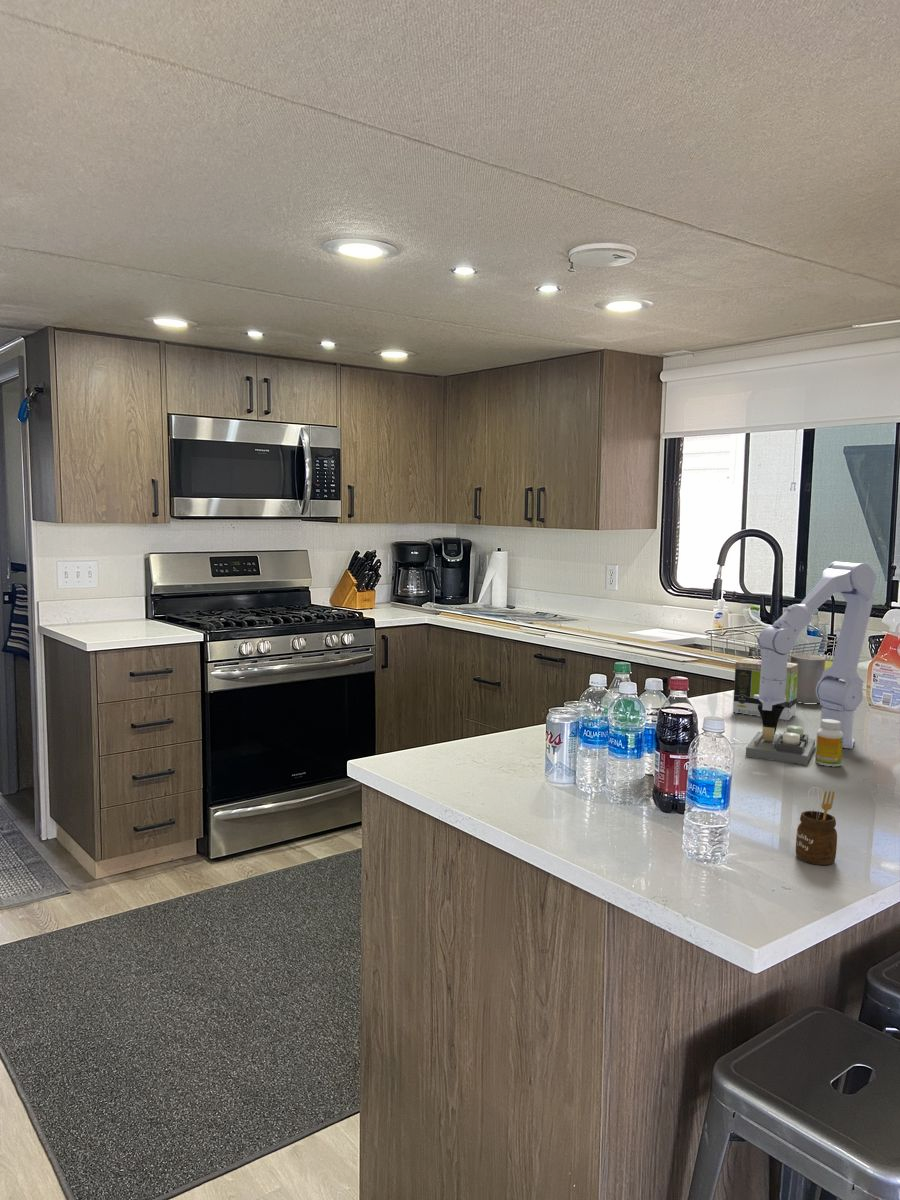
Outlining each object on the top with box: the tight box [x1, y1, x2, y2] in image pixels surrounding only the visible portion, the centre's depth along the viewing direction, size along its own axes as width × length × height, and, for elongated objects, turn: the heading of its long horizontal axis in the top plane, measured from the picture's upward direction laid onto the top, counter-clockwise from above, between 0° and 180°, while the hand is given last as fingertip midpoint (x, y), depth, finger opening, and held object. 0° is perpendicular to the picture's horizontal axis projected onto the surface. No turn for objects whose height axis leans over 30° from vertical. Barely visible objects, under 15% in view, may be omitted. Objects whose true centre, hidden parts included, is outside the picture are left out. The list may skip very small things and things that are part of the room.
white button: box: [782, 731, 800, 746], centre depth 202 cm, size 4×4×2 cm
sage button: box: [786, 725, 805, 738], centre depth 209 cm, size 4×4×2 cm
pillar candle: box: [790, 651, 827, 703], centre depth 268 cm, size 10×10×15 cm
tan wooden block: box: [761, 725, 775, 741], centre depth 208 cm, size 2×2×3 cm
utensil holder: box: [795, 786, 838, 866], centre depth 141 cm, size 6×6×12 cm
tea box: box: [732, 658, 798, 721], centre depth 248 cm, size 15×10×15 cm
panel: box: [745, 731, 816, 766], centre depth 207 cm, size 18×13×4 cm
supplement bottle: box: [814, 719, 843, 768], centre depth 198 cm, size 5×5×10 cm
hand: (769, 735), depth 210 cm, fingers closed
